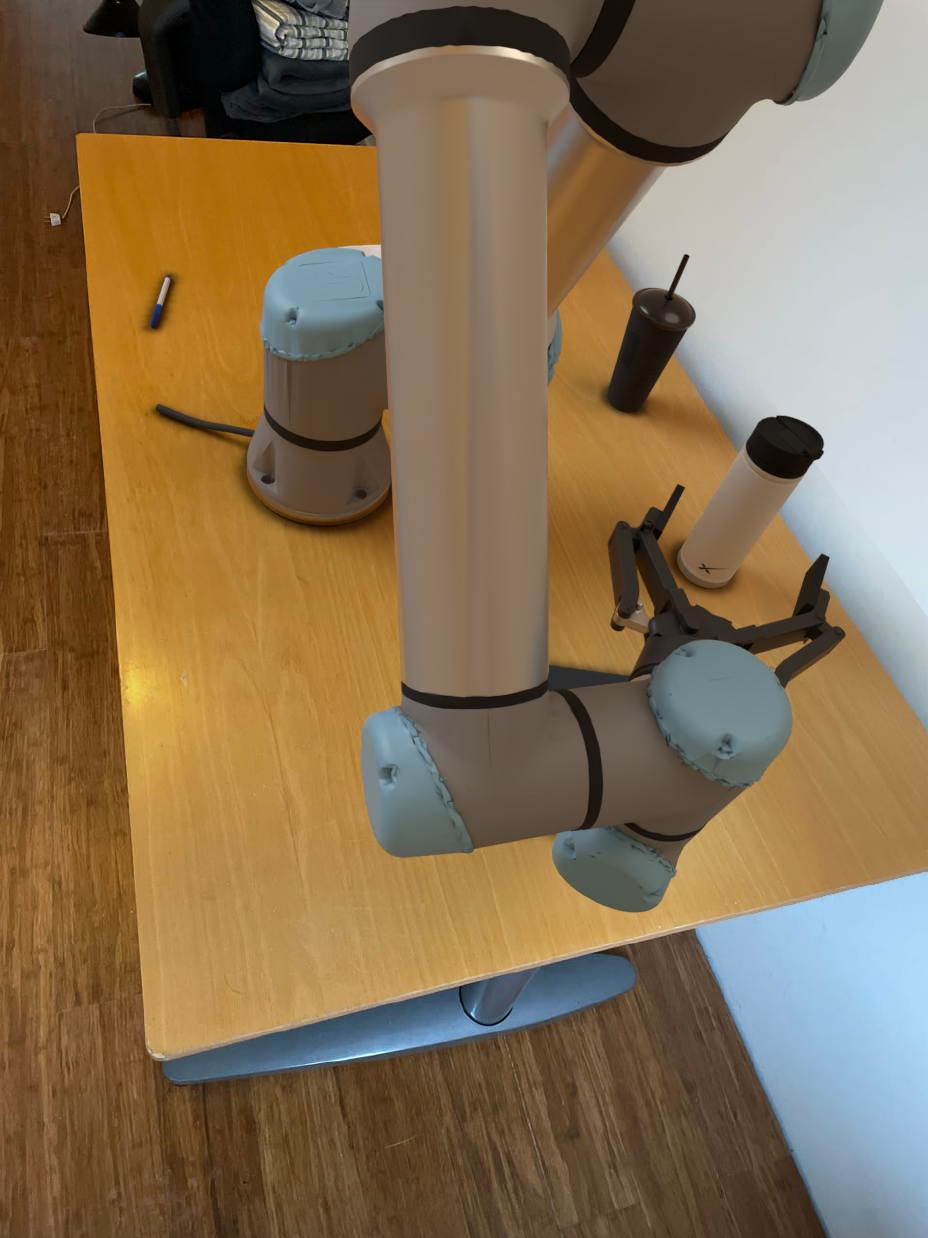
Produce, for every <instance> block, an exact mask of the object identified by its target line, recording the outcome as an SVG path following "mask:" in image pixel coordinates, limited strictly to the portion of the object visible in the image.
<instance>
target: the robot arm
mask: <svg viewBox="0 0 928 1238" xmlns="http://www.w3.org/2000/svg"><path fill="white" fill-rule="evenodd" d="M884 1H885V0H349V10H348V23H347V25H348V26H347V55H348V71H349V72H348V74H349V77H348V78H349V95H350V107H351V110H352V112H353V114H354V116H355V117H356V118H357V119H358V120H359V122H361V124H363V126H364V127H366V129H368V131H369V132H371V134H372V135H373V136H374V138H375V152H376V155H375V156H376V172H377V173H376V174H377V175H376V177H377V195H378V198H377V199H378V217H379V219H378V220H379V238H380V239H379V240H380V245H381V259H380V258H378V257H376V256H374V255H371V256H365V253H364V252H363V251H360V250H356V249H349V248H338V247H325V248H317V249H313V250H309V251H306V252H302V253H299V254H298V255H296V256H293V257H291V258H289V259H288V260H287V261H286V262H285V263H284V265H281V266H279V267H278V268H277V269H276V270H275V271H274V272H272V274H271V275H270V277H269V279H268V281H267V282H266V285H265V288H264V292H263V297H262V298H263V299H262V302H263V303H262V313H261V314H262V315H261V320H260V323H259V335H260V339H261V342H262V344H263V345H262V347H263V350H262V352H263V353H262V354H263V357H262V358H263V360H262V361H263V365H262V366H263V368H262V369H263V371H262V372H263V374H262V375H263V379H262V380H263V384H262V385H263V411H262V414H261V416H260V418H259V420H258V423H257V425H256V428H255V429H252V428H245V427H242V426H236V425H230V424H226V423H219V422H212V421H207V420H203V419H199V418H196V417H193V416H190V415H187V414H185V413H183V412H180V411H179V410H175V409H173V408H170V407H168V406H165V405H163V404H160V403H157V404H156V406H155V411H156V412H158V413H161V414H163V415H165V416H168V417H170V418H173V419H174V420H175V419H176V420H178V421H180V422H182V423H186V424H188V425H191V426H194V427H196V428H200V429H204V430H210V431H216V432H223V433H227V434H228V433H229V434H234V435H239V436H243V437H247V438H251V439H250V442H249V445H248V448H247V451H246V475H247V480H248V484H249V486H250V488H251V490H252V492H253V494H254V495H255V496H256V497H257V498H258V500H259V501H260V502H261V503H262V504H263V505H264V506H265V507H267V508H268V509H269V510H271V511H272V512H274V513H276V514H278V515H280V516H281V517H284V518H286V519H289V520H291V521H294V522H297V523H301V524H306V525H313V526H338V525H343V524H349V523H353V522H355V521H358V520H360V519H362V518H365V517H366V516H368V515H370V514H371V513H373V512H374V511H375V510H376V509H378V508H379V507H380V506H381V505H382V504H383V503H384V501H385V500H386V498H387V497H388V494H389V491H390V489H391V493H392V510H393V511H392V515H393V535H394V536H393V537H394V555H395V556H394V557H395V558H394V559H395V575H396V576H395V578H396V581H395V582H396V601H397V621H398V640H399V643H398V644H399V662H400V663H399V665H400V689H401V690H400V691H401V699H400V700H401V702H400V705H394V706H392V705H391V707H390V708H388V709H385V710H380V711H376V712H373V713H371V714H370V715H369V716H368V717H367V718H366V719H365V721H364V723H363V726H362V728H361V739H360V740H361V748H360V764H361V767H360V768H361V779H362V786H363V793H364V800H365V806H366V811H367V816H368V819H369V824H370V826H371V830H372V833H373V835H374V838H375V839H376V841H377V843H378V845H379V847H380V848H381V849H382V850H383V851H384V852H385V853H387V854H388V855H390V856H392V857H394V858H395V857H396V858H401V859H405V858H415V857H416V858H417V857H419V858H420V857H428V856H440V855H451V854H472V853H474V851H475V850H478V849H482V848H487V847H492V846H498V845H503V844H508V843H513V842H518V841H524V840H528V839H529V840H530V839H533V838H540V837H544V836H549V835H550V836H551V835H555V834H557V835H556V837H555V839H554V842H553V843H552V844H553V845H552V847H551V848H552V849H551V858H552V861H553V865H554V867H555V869H556V871H557V873H558V874H559V875H560V876H561V878H562V879H563V880H564V881H565V882H566V883H567V884H568V885H569V886H570V887H571V888H573V890H575V891H576V892H577V893H579V894H581V895H582V896H584V897H586V898H587V899H589V900H591V901H593V902H594V903H597V904H599V905H601V906H603V907H606V908H609V909H612V910H615V911H619V912H624V913H633V914H635V913H645V912H649V911H651V910H654V909H655V908H657V907H658V906H659V905H660V904H661V902H662V901H663V899H664V897H665V894H666V892H667V890H668V887H669V885H670V883H671V880H672V879H673V878H675V877H676V876H677V873H678V870H677V865H678V861H679V858H680V856H681V854H682V851H683V850H684V848H685V846H686V845H687V844H688V843H689V842H690V841H692V840H693V839H694V838H695V837H696V836H697V835H698V834H699V833H700V832H701V831H702V830H703V829H704V828H705V827H706V826H707V825H708V823H710V822H711V821H712V820H713V819H714V818H715V817H716V816H717V815H719V813H721V812H722V811H723V810H724V809H726V807H727V806H729V805H730V804H731V803H732V802H733V801H735V800H736V799H737V797H739V796H740V795H741V794H742V793H744V791H746V790H747V789H748V788H750V787H752V786H753V785H755V783H758V782H759V781H761V778H762V777H763V776H764V774H765V772H766V771H767V769H768V767H770V765H771V764H772V763H773V762H774V761H775V760H776V758H777V757H778V756H779V755H780V754H781V753H782V752H783V750H784V749H785V748H786V746H787V744H788V742H789V739H790V737H791V734H792V730H793V719H794V717H793V707H792V705H791V701H790V698H789V696H788V695H787V691H786V688H787V686H788V683H790V682H791V681H792V680H794V679H795V678H797V677H798V676H800V675H801V674H802V673H803V672H805V671H807V670H808V669H810V668H811V667H812V666H814V665H815V664H816V663H818V662H820V661H821V660H823V659H824V658H825V657H827V656H828V655H829V654H831V652H832V651H833V650H834V649H835V648H836V647H837V646H838V645H839V644H840V643H841V642H842V641H843V640H844V639H845V638H846V635H847V634H846V631H845V630H844V629H843V628H842V627H840V626H838V625H835V626H832V625H831V624H829V623H828V621H827V617H826V614H827V610H828V607H829V603H830V600H831V595H830V592H829V591H828V590H826V589H824V588H822V586H823V583H824V578H825V575H826V572H827V569H828V565H829V563H830V558H831V556H828V555H827V554H824V553H822V552H821V553H820V555H819V556H818V557H817V558H816V559H815V561H814V562H813V563H812V565H810V567H809V568H808V569H807V570H806V572H805V574H804V577H803V580H802V583H801V586H800V589H799V593H798V595H797V599H796V602H795V605H794V608H793V611H792V615H791V617H787V618H783V619H780V620H775V621H772V622H767V623H765V624H761V625H756V624H751V625H747V626H743V627H740V628H736V627H735V626H734V625H732V624H733V621H731V620H729V619H727V618H726V617H723V616H720V615H716V614H713V613H712V612H711V611H709V610H708V609H707V608H705V607H703V606H701V604H698V603H696V604H695V605H692V604H691V602H690V601H689V600H690V599H689V598H688V596H687V594H686V591H685V590H684V588H682V587H679V586H678V583H677V582H676V580H675V577H674V576H673V575H674V574H673V573H672V571H671V568H670V566H669V564H668V562H667V559H666V557H665V555H664V553H663V551H662V549H661V546H660V545H659V543H658V542H659V540H660V538H661V536H662V534H663V532H664V531H665V528H666V527H667V525H668V523H669V521H670V519H671V518H672V514H673V513H674V511H675V509H676V507H677V505H678V503H679V501H680V499H681V497H682V495H683V493H684V491H685V490H686V487H685V486H683V485H681V484H679V483H677V484H676V486H675V488H674V490H673V492H672V493H671V495H670V497H669V499H668V500H667V503H666V504H665V506H664V509H663V510H662V509H659V508H658V507H655V506H652V507H650V508H648V510H647V512H646V514H645V515H644V517H643V519H642V521H641V523H640V525H639V526H637V527H632V526H631V525H630V523H628V522H627V521H625V520H618V521H617V522H616V523H615V526H614V528H613V530H612V531H611V534H610V536H609V538H608V541H607V552H608V560H609V569H610V576H611V582H612V583H611V585H612V593H613V601H614V610H613V613H612V616H611V619H610V622H609V626H610V628H611V629H612V630H613V631H615V632H623V631H624V630H625V628H627V629H630V630H633V631H635V632H637V633H640V634H642V636H643V640H644V644H643V648H642V649H641V651H640V654H639V656H638V658H637V660H636V662H635V664H634V666H633V669H632V670H631V672H630V675H629V676H630V677H629V680H628V682H622V683H613V684H605V685H597V686H589V687H581V688H573V689H561V690H552V691H549V683H548V674H549V665H550V609H549V608H550V603H549V602H550V600H549V599H550V597H549V596H550V595H549V594H550V591H549V588H550V586H549V585H550V584H549V583H550V580H549V579H550V577H549V575H550V573H549V572H550V571H549V564H550V563H549V558H550V557H549V393H548V392H549V391H548V390H549V386H550V384H551V382H552V381H553V379H554V377H555V374H556V373H555V365H556V364H558V363H559V360H560V356H561V353H562V352H561V351H562V344H563V343H562V341H563V326H562V318H561V313H560V308H559V307H560V306H561V304H562V303H563V302H564V300H565V299H566V298H567V296H568V295H569V294H570V292H571V291H572V290H573V289H574V288H575V287H576V285H577V284H578V282H579V281H580V280H581V279H582V277H583V276H584V275H585V273H586V272H587V271H588V269H589V268H590V267H591V266H592V264H593V263H594V262H595V261H596V259H597V258H598V256H599V255H600V254H601V253H602V251H604V249H605V248H606V247H607V245H608V244H609V242H610V241H611V240H612V239H613V238H614V236H615V235H616V234H617V232H618V231H619V230H620V228H621V227H622V226H623V225H624V223H625V222H626V221H627V220H628V218H629V217H630V216H631V215H632V213H633V212H634V211H635V209H636V208H637V207H638V205H639V204H640V202H642V200H644V198H645V197H646V195H647V194H648V193H649V191H650V190H651V189H652V188H653V186H654V185H655V184H656V182H657V181H658V180H659V179H660V177H661V176H662V175H663V174H664V172H665V171H666V170H667V169H668V168H670V167H681V166H684V165H690V164H692V163H695V162H697V161H699V160H702V159H703V158H705V157H706V156H708V155H710V153H712V152H713V151H714V150H715V149H716V148H718V147H719V145H720V144H721V143H722V142H723V140H725V138H726V137H727V136H728V135H729V133H730V132H731V131H732V130H733V129H734V127H736V126H737V124H739V122H740V121H741V120H742V118H743V117H744V116H746V113H748V111H749V110H750V109H751V108H752V107H753V106H754V105H755V104H757V103H759V102H763V101H765V100H770V101H772V102H773V103H774V104H775V105H780V106H783V107H787V106H791V105H793V104H795V102H800V103H801V102H806V101H810V100H814V99H815V98H817V97H819V96H821V95H822V94H824V93H825V92H827V91H829V89H830V88H831V87H832V86H834V85H835V84H836V83H837V82H838V81H839V80H840V79H841V77H842V76H843V75H844V74H845V73H846V72H847V70H848V69H849V67H850V66H851V65H852V63H853V62H854V60H855V58H856V57H857V55H858V54H859V52H860V51H861V50H862V48H863V46H864V44H865V43H866V41H867V39H868V37H869V35H870V34H871V32H872V29H873V28H874V25H875V23H876V21H877V18H878V16H879V14H880V11H881V8H882V6H883V4H884ZM385 410H388V411H387V412H388V428H389V429H388V430H389V443H388V439H387V437H386V432H385V430H384V426H383V416H384V415H383V414H384V411H385ZM638 574H639V575H640V578H641V580H642V583H643V585H644V588H645V589H646V591H647V594H648V597H649V599H650V601H651V604H652V605H653V616H652V617H651V618H650V617H649V616H647V614H646V613H645V606H644V601H643V600H641V599H639V598H640V582H639V576H638ZM809 640H811V641H809ZM808 641H809V642H808ZM800 642H802V644H803V645H804V646H803V647H801V648H800V649H797V651H795V652H794V653H792V654H790V655H789V656H787V657H786V658H785V659H783V660H782V661H780V663H779V664H778V665H777V666H776V667H774V666H769V665H767V664H766V663H765V662H764V661H763V660H762V659H760V658H759V657H758V656H756V655H758V654H759V655H760V654H762V653H765V652H769V651H773V650H775V649H779V648H782V647H787V646H790V645H793V644H796V643H800ZM807 642H808V643H807ZM806 643H807V644H806Z"/></svg>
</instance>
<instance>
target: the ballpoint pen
mask: <svg viewBox="0 0 928 1238" xmlns="http://www.w3.org/2000/svg"><path fill="white" fill-rule="evenodd" d="M170 284H171V275H170V274H167V275H166V276H165V278H164V281H163V283H162V287H161V290H160V293H159V296H158V300H157V303H156V304H155V307H154V310H153V312H152V316H151V320H150V327H151V328H153V329H154V328H156V327H157V325H158V323H159V320H160V317H161V313H162V310H163V306H164V302H165V299H166V296H167V293H168V289H169V286H170Z"/></svg>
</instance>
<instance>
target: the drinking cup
mask: <svg viewBox="0 0 928 1238" xmlns="http://www.w3.org/2000/svg"><path fill="white" fill-rule="evenodd" d="M689 259H690V255H689V254H687V253H684V254H683V256H682V258H681V261H680V263H679V265H678V268H677V270H676V272H675V274H674V277H673V279H672V281H671V283H670V286H669V288H668V289H664V288H661V287H644V288H641V289H639V290H637V291H636V292H635V293H634V295H633V296H632V298H631V306H632V307H631V310H630V314H629V317H628V320H627V324H626V328H625V331H624V334H623V336H622V337H623V338H622V341H621V343H620V344H621V345H620V346H619V352H618V354H617V358H616V361H615V365H614V368H613V371H612V375H611V377H610V381H609V385H608V389H607V391H606V400H607V402H608V403H609V404H610V405H611V406H612V407H614V408H615V409H617V410H618V411H621V412H625V413H635V412H638V411H640V410H642V407H643V406H644V404H645V402H646V400H647V399H648V397H649V396H650V394H651V392H652V391H653V389H654V387H655V386H656V383H658V380H659V378H660V376H661V375H662V373H663V372H664V370H665V368H666V367H667V365H668V364H669V362H670V360H671V358H672V356H673V355H674V353H675V352H676V350H677V349H678V346H679V345H680V343H681V341H682V340H683V338H684V337H685V335H686V333H687V331H688V329H690V328H691V327H692V326H693V325H694V324H695V321H696V318H697V313H696V310H695V307H693V305H692V304H691V303H690V302H689V301H688V300H687V299H686V298H685V297H683V296H681V295H680V294H678V293H675V292H676V290H677V287H678V285H679V282H680V281H681V278H682V275H683V273H684V271H685V269H686V267H687V264H688V261H689Z"/></svg>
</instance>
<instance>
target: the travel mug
mask: <svg viewBox="0 0 928 1238" xmlns="http://www.w3.org/2000/svg"><path fill="white" fill-rule="evenodd" d="M824 447H825V441H824V438H823V436H822V435H821V433H820V432H819V431H818V430H817V429H816V427H814V426H812V425H811V424H809V423H807V422H805V421H804V420H801V419H798V418H796V417H792V416H789V415H776V416H768V417H765V418H762V419H761V420H759V421H758V422H757V424H756V425H755V427H754V428H753V430H752V432H751V434H750V436H748V437H747V439H746V441H745V442H744V444H743V446H742V447H741V449H740V450H739V452H738V454H737V455H736V457H735V459H734V460H733V462H732V464H731V465H730V467H729V469H728V470H727V472H726V474H725V475H724V477H723V479H722V480H721V482H720V483H719V485H718V487H717V488H716V490H715V492H714V493H713V494H712V497H711V498H710V499H709V501H708V502H707V505H706V507H705V508H704V509H703V511H702V513H701V515H700V516H699V518H698V520H697V521H696V523H695V525H694V526H693V528H692V530H691V531H690V533H689V534H688V536H687V538H686V540H685V541H684V542H683V544H682V546H681V548H680V549H679V551H678V553H677V556H676V560H677V561H676V562H677V566H678V569H679V570H680V572H681V574H682V575H683V576H684V577H685V578H686V579H687V580H689V581H690V582H691V583H693V584H695V585H696V586H699V587H702V588H706V589H718V588H723V587H724V586H726V585H727V584H728V583H729V582H730V580H731V579H732V578H733V576H734V575H735V573H736V572H737V570H738V569H739V568H740V566H741V565H742V564H743V562H744V561H745V560H746V559H747V556H749V554H750V552H751V551H752V549H753V548H754V547H755V545H756V544H757V542H759V540H760V538H761V537H762V536H763V534H764V533H765V532H766V530H767V529H768V527H769V526H770V524H771V523H772V522H773V521H774V519H775V517H776V516H777V515H778V513H779V512H780V510H781V509H782V507H783V506H784V505H785V503H787V501H788V499H789V498H790V496H791V495H792V494H793V492H794V491H795V490H796V488H797V487H798V485H799V484H800V482H801V481H802V480H803V478H804V477H805V476H806V474H807V473H808V470H809V468H811V466H812V465H813V463H814V462H815V461H818V460H820V459H821V458H822V456H823V455H824V453H825V451H824Z"/></svg>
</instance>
